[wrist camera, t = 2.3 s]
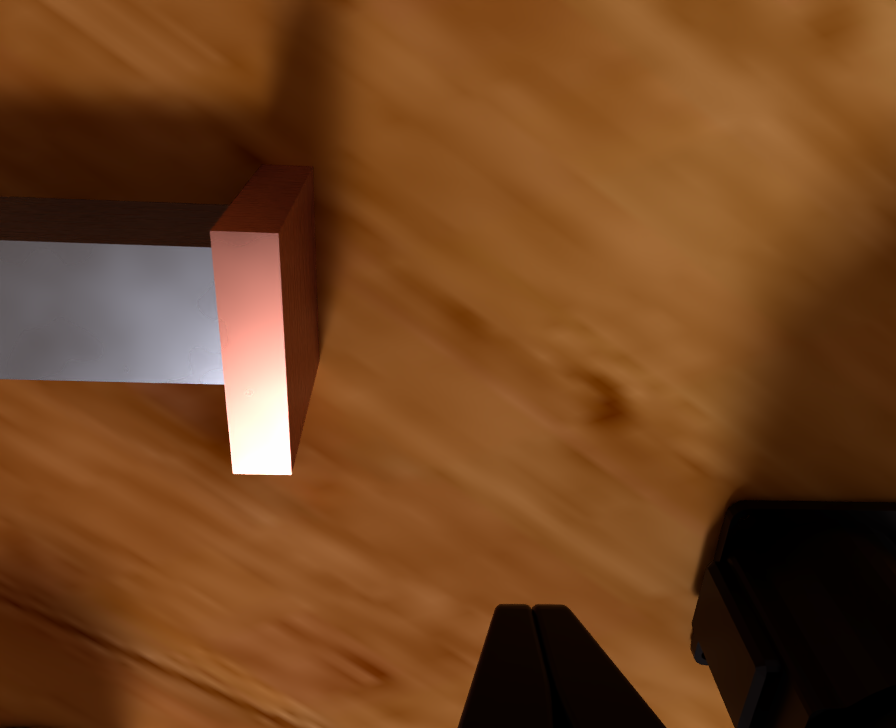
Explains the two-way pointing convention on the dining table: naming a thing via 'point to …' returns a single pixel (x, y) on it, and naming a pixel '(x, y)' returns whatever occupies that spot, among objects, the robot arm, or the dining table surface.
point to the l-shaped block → (173, 301)
